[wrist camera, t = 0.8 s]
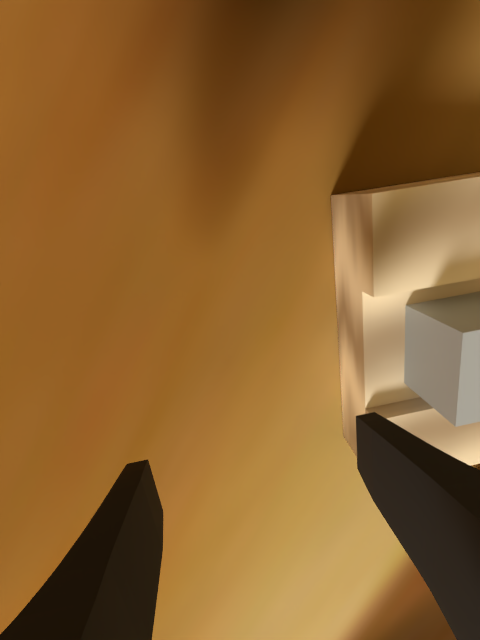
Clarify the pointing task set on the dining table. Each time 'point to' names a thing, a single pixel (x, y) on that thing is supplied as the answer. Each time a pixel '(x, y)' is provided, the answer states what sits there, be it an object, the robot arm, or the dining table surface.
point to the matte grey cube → (445, 355)
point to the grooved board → (401, 295)
